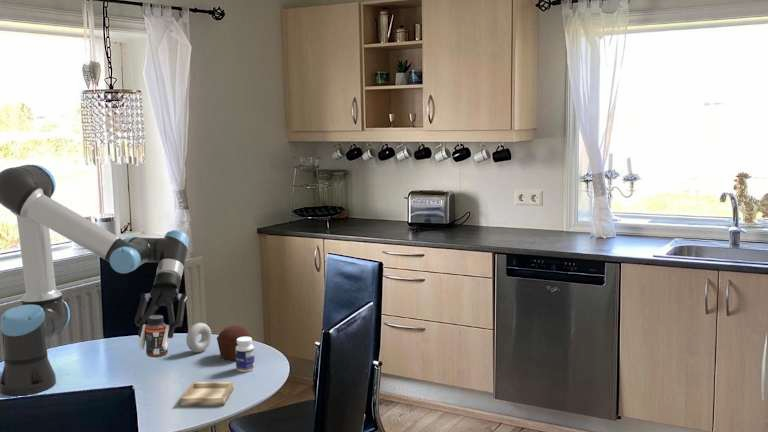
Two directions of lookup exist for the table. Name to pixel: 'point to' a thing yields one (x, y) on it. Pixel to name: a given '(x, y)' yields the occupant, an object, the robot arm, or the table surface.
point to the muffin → (230, 341)
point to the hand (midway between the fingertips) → (152, 347)
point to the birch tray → (207, 394)
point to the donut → (193, 335)
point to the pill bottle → (244, 354)
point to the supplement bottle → (155, 336)
